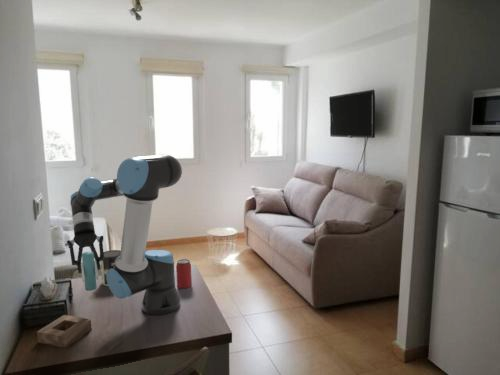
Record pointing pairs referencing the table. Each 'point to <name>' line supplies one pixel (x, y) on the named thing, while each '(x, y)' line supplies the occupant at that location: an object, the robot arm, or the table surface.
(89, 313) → the table surface
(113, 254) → the coffee can
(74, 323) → the walnut hole block
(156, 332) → the table surface
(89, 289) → the teal pin
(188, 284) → the beer can
